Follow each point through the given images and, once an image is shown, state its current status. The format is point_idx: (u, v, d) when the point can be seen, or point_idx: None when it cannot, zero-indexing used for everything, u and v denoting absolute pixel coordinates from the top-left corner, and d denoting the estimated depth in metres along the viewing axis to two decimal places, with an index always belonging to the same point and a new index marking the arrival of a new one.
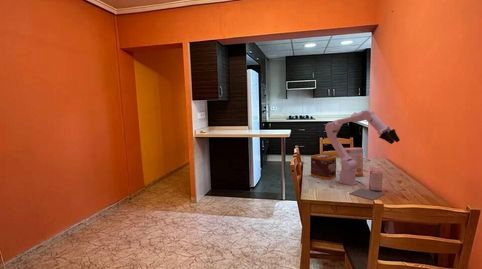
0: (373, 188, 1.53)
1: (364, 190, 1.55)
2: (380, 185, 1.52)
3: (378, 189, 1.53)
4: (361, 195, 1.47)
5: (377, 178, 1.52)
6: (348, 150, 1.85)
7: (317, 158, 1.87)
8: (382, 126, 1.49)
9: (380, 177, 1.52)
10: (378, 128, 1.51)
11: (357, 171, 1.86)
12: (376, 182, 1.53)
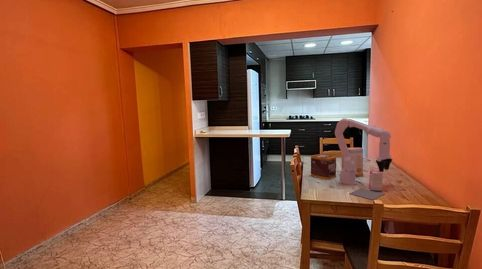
0: (373, 188, 1.53)
1: (364, 190, 1.55)
2: (380, 185, 1.52)
3: (378, 189, 1.53)
4: (361, 195, 1.47)
5: (377, 178, 1.52)
6: (348, 150, 1.85)
7: (317, 158, 1.87)
8: (386, 154, 1.57)
9: (380, 177, 1.52)
10: (381, 153, 1.58)
11: (357, 171, 1.86)
12: (376, 182, 1.53)
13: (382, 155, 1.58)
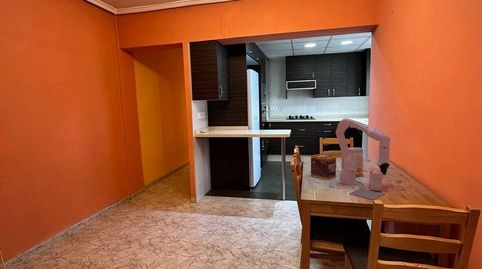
0: (373, 188, 1.53)
1: (364, 190, 1.55)
2: (380, 185, 1.52)
3: (378, 189, 1.53)
4: (361, 195, 1.47)
5: (377, 178, 1.52)
6: None
7: (317, 158, 1.87)
8: (385, 158, 1.57)
9: (380, 177, 1.52)
10: (381, 157, 1.59)
11: (357, 171, 1.86)
12: (376, 182, 1.53)
13: (382, 159, 1.58)
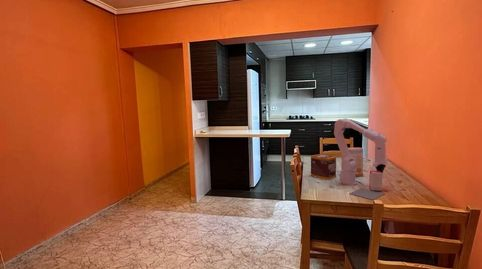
0: (373, 188, 1.53)
1: (364, 190, 1.55)
2: (380, 185, 1.52)
3: (378, 189, 1.53)
4: (361, 195, 1.47)
5: (377, 178, 1.52)
6: None
7: (317, 158, 1.87)
8: (381, 159, 1.54)
9: (380, 177, 1.52)
10: (377, 158, 1.55)
11: (357, 171, 1.86)
12: (376, 182, 1.52)
13: (378, 160, 1.55)
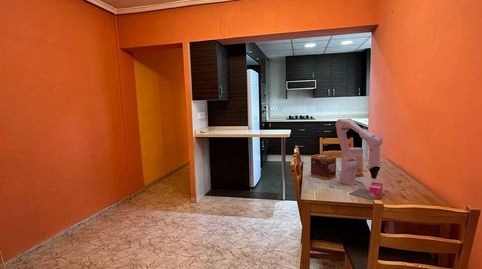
0: None
1: (364, 190, 1.55)
2: None
3: None
4: (361, 195, 1.47)
5: None
6: None
7: (317, 158, 1.87)
8: (375, 161, 1.50)
9: None
10: (371, 160, 1.51)
11: (357, 171, 1.86)
12: None
13: (372, 162, 1.51)
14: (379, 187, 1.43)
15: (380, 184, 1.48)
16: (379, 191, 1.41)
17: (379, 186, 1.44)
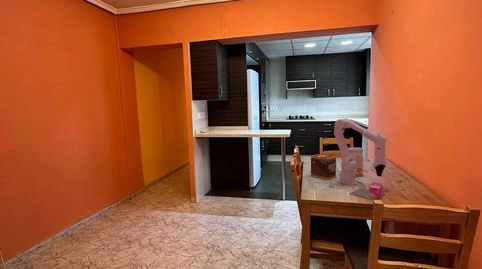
0: None
1: (364, 190, 1.55)
2: None
3: None
4: (361, 195, 1.47)
5: None
6: None
7: (317, 158, 1.87)
8: (381, 159, 1.54)
9: None
10: (377, 158, 1.55)
11: (357, 171, 1.86)
12: None
13: (377, 160, 1.55)
14: (379, 187, 1.43)
15: (380, 184, 1.48)
16: (379, 191, 1.41)
17: (379, 186, 1.44)
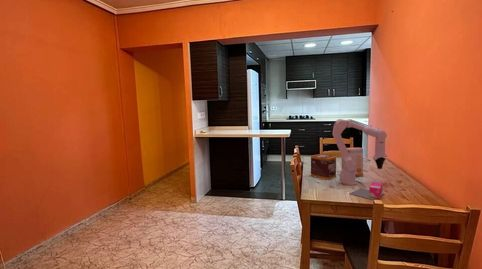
0: None
1: (364, 190, 1.55)
2: None
3: None
4: (361, 195, 1.47)
5: None
6: (348, 150, 1.85)
7: (317, 158, 1.87)
8: (381, 153, 1.62)
9: None
10: (377, 152, 1.63)
11: (357, 171, 1.86)
12: None
13: (378, 154, 1.63)
14: (379, 187, 1.43)
15: (380, 184, 1.48)
16: (379, 191, 1.41)
17: (379, 186, 1.44)
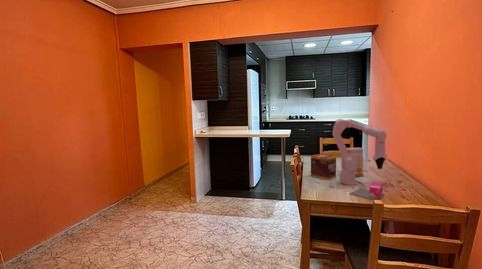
0: None
1: (364, 190, 1.55)
2: None
3: None
4: (361, 195, 1.47)
5: None
6: (348, 150, 1.85)
7: (317, 158, 1.87)
8: (381, 153, 1.62)
9: None
10: (377, 152, 1.63)
11: (357, 171, 1.86)
12: None
13: (378, 154, 1.63)
14: (379, 187, 1.43)
15: (380, 184, 1.48)
16: (379, 191, 1.41)
17: (379, 186, 1.44)
